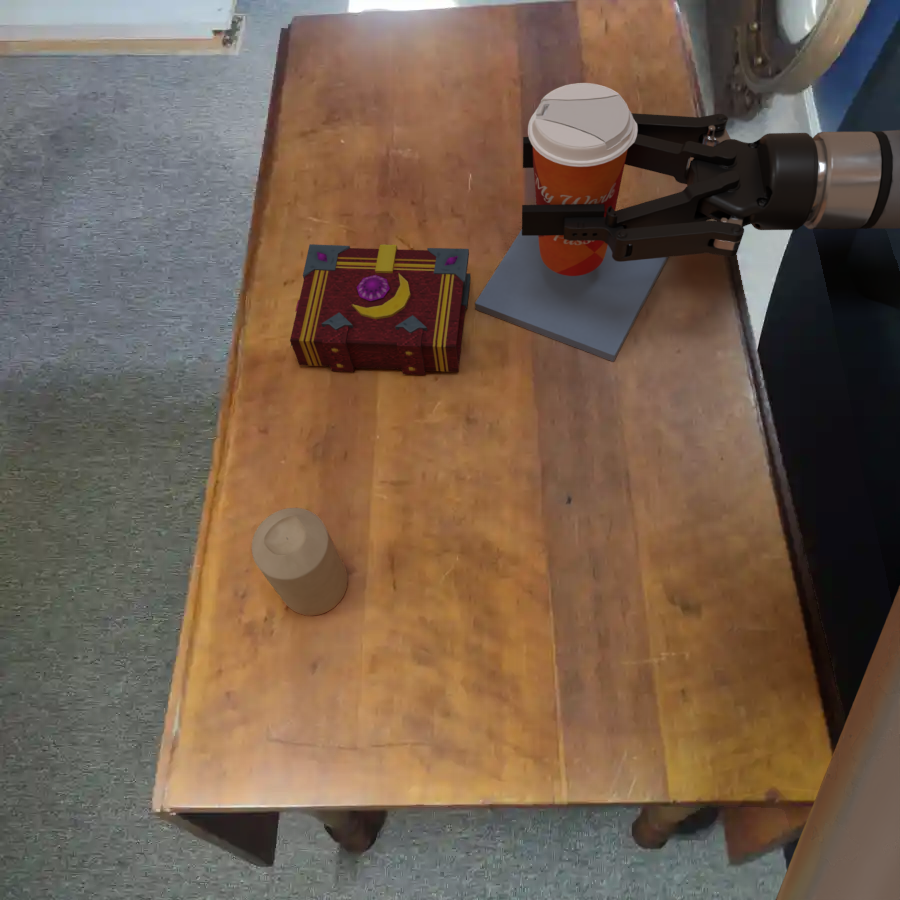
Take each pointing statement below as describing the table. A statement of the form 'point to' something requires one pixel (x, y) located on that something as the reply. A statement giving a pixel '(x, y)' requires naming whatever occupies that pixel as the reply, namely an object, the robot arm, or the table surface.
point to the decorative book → (382, 308)
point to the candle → (300, 561)
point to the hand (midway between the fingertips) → (522, 185)
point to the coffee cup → (579, 163)
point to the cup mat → (570, 297)
